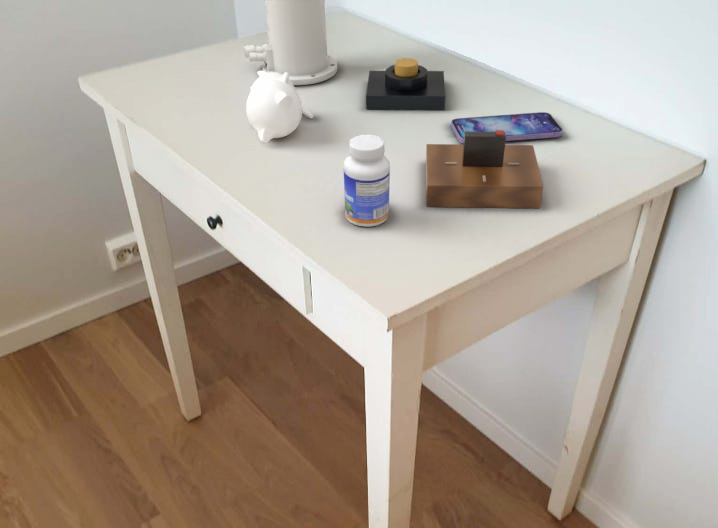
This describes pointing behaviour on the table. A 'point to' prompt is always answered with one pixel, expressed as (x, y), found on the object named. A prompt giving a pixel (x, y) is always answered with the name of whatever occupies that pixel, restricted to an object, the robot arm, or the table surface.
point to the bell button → (406, 67)
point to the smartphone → (510, 126)
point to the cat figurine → (274, 106)
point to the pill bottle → (366, 181)
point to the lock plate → (482, 179)
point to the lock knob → (484, 148)
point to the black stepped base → (405, 90)
